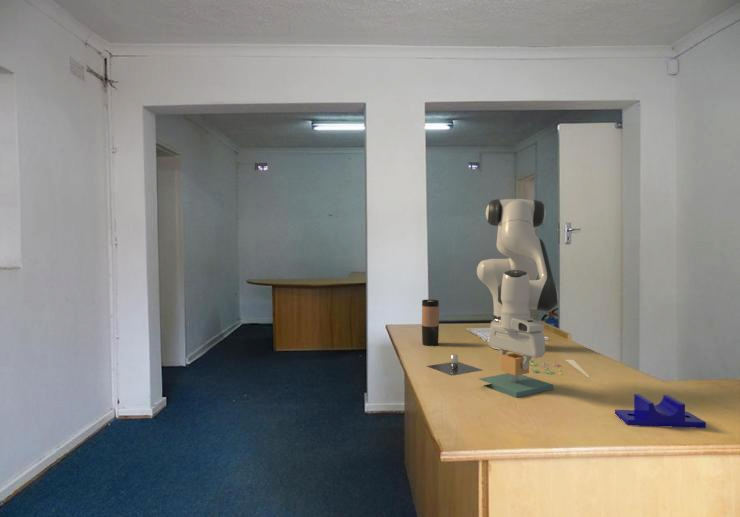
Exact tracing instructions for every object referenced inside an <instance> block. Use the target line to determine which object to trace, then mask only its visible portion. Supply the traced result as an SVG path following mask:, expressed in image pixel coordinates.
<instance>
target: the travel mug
mask: <svg viewBox="0 0 740 517" xmlns="http://www.w3.org/2000/svg"><path fill="white" fill-rule="evenodd" d="M421 302H422V303H421V307H422V308H421V336H422V337H421V339H422V340H421V341H422V345H423V346H427V347H428V346H429V347H434V346H438V345H439V336H440V335H439V333H440V332H439V331H440V330H439V327H440V319H439V318H440V314H439V312H440V310H439V309H440V306H439V305H440V303H439V302H440V301H439V299H422V300H421Z"/></svg>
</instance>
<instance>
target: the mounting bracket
mask: <svg viewBox="0 0 740 517" xmlns="http://www.w3.org/2000/svg"><path fill="white" fill-rule="evenodd" d="M633 396H634V397H633V400H634V401H633V402H634V403H633V404H634V405H633V408H634V409H614V415H615V414H616V415H617V416H618V417H619V418H620V420H621V419H622V420H623V421H624V422H625V423H624V422H623V421H622V420H621V421H622V422H623V423H624V424H625V425H627V426H630V425H639V426H638V427H659V426H672V427H671V428H689V427H696V428H695V429H706V428H707V422H706V421H705V420H704V419H702V418H699V417H698V416H696V415H695V414H692V413H691V412H689V411H686V403H683V402H681V401H680V400H678V399H677V398H675V397H672V396H671V395H669V394H663V396H662V399H661V401H660V402H659V403H657V404H655V403H654V402H652V401H651V400H649V399H648V398H646V397H644V396H643V395H642V394H639V393H634V394H633ZM616 415H615V416H616ZM617 416H616V417H617ZM618 417H617V418H618ZM619 418H618V419H619Z"/></svg>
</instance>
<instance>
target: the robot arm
mask: <svg viewBox="0 0 740 517" xmlns="http://www.w3.org/2000/svg"><path fill="white" fill-rule="evenodd" d="M546 211H547V210H546V207H545V204H544V203H543V202H542V201H540V200H537V199H526V198H505V199H498V198H496V199H492V200H490V201H489V202H488V205H487V206H486V209H485V218H486V220H487V223H488V224H489V225H490V226H494V227H497V236H496V246H495V247H496V249H497V251H498V252H500V253H501V254H502V255H504V256H505V257H507V258H488V259H484V260H481V261H480V262H479V263H478V265H477V267H476V275H477V277H478V280H480V282H482V283H483V284H484V285H485V286H486V287H487V288H488V290H489V292H490V293H491V296H492V304H493V314H492V320H491V321H490V328H489V333H488V344H489V347H490V348H492V349H495V350H498V351H499V353H500V354H499V355H500V356H501V355H506V354H507V352H511V353H515V354H519V355H523V358H525V359H524V361H523V363H520V365H521V366H520V367H521V368H522V369H528V363H530V362H531V361H530V360H532V358H534V359H535V358H536V359H537V358H542V357H543V356H545V354H546V338H545V335H544V333H543V331H545V325H544V324H543V323H542V322H541V321H538V320H537V319H535V318H533V317H532V316H531V310H535V311H536V310H537V311H543V312H550V311H551V310H553V309H554V308H555V307H556V306H557V305H558V302H559V291H558V288H557V286H556V282H555V280H554V276H553V272H552V268H551V263H550V259H549V256H548V255H549V254H548V251H547V248H546V244H545V243H544V241H543V240H542V239H541V238H539V236H537V235H536V233H535V231H534V228H537V227H540V226H541V225H543V223H544V221H545V218H546V216H547V215H546V214H547V212H546ZM538 276H539V277H538ZM537 277H538V278H539V279H537Z"/></svg>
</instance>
